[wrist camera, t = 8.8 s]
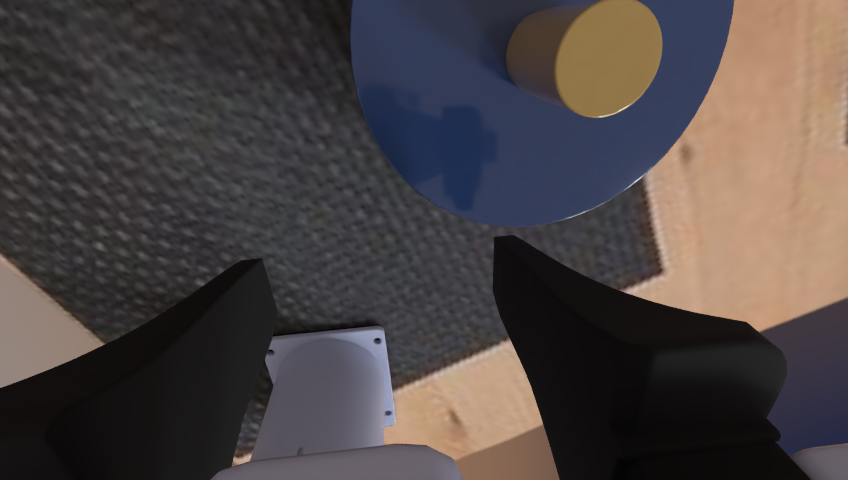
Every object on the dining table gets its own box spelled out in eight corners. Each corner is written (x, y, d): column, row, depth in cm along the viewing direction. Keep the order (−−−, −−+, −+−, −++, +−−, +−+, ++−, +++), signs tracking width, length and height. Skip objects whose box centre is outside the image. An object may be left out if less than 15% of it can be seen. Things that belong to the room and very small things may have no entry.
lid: (664, 201, 17) (771, 265, 13) (374, 228, 17) (371, 306, 12) (761, -204, 11) (1031, -374, 7) (321, -188, 11) (272, -365, 6)
